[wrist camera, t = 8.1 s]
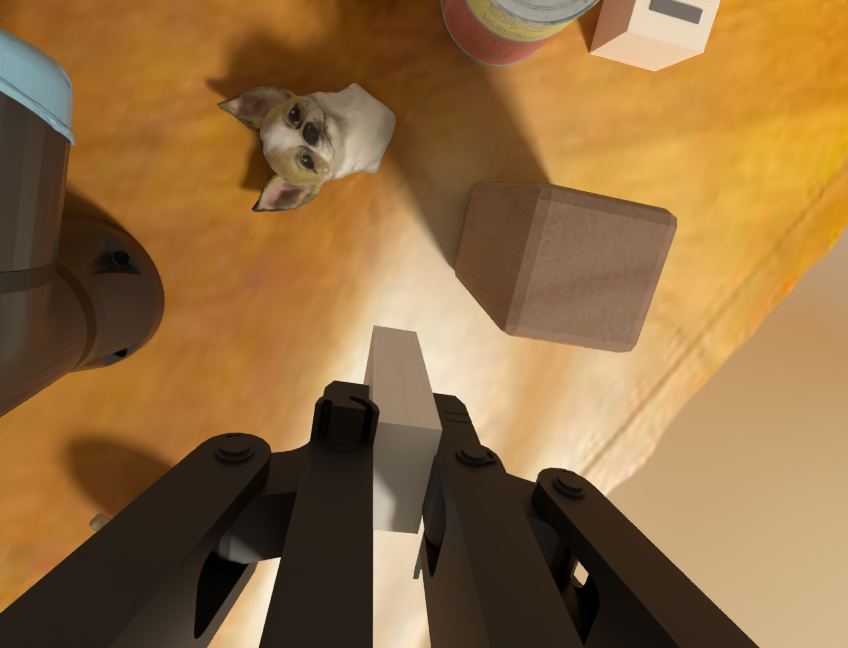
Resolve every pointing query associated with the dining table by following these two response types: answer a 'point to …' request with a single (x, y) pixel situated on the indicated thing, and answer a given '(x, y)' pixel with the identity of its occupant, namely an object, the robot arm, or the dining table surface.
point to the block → (563, 262)
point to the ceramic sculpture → (312, 138)
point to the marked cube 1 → (653, 31)
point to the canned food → (508, 26)
